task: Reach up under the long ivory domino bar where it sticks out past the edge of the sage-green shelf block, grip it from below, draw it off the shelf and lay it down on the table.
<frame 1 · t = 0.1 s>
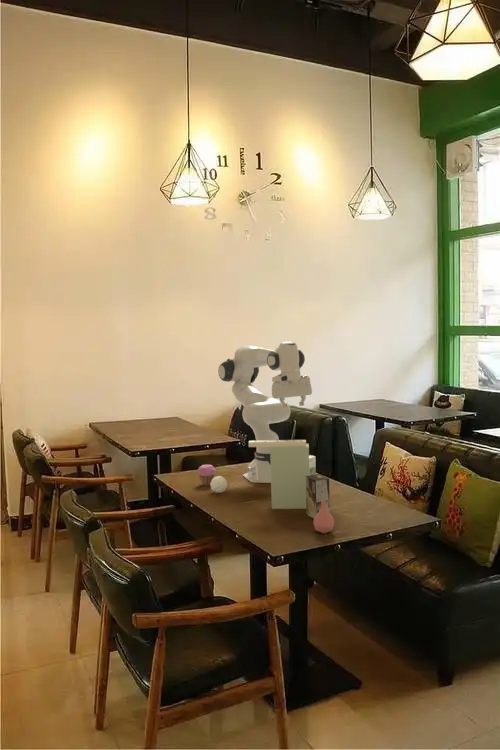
hand: (293, 406, 300), 39 cm above the table, tool pointing down, fingers open, 8 cm apart
syrup box: (307, 486, 308), on the table
geometric ball: (219, 492, 302), on the table
pink vase: (323, 533, 242), on the table
coffee box: (318, 516, 261), on the table
domino bar: (277, 445, 275), point 26 cm above the table, touching shelf block
cupcake: (207, 485, 316), on the table
shelf block: (290, 505, 277), on the table
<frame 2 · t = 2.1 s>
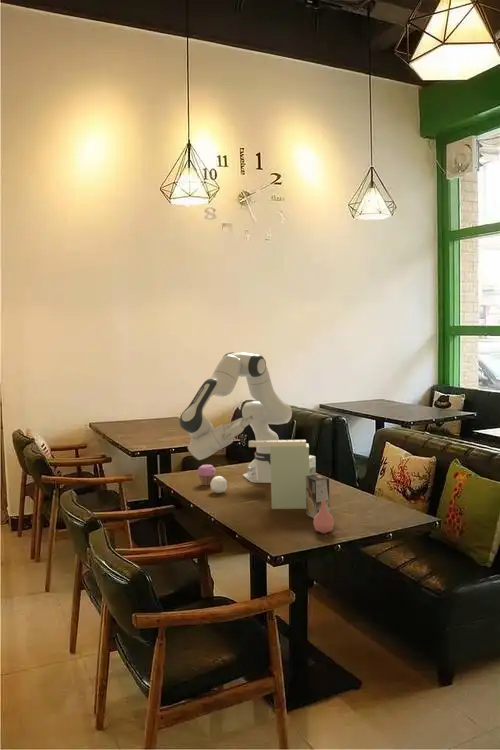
hand: (252, 418, 270), 38 cm above the table, tool pointing upward, fingers open, 8 cm apart
nothing on the table moved.
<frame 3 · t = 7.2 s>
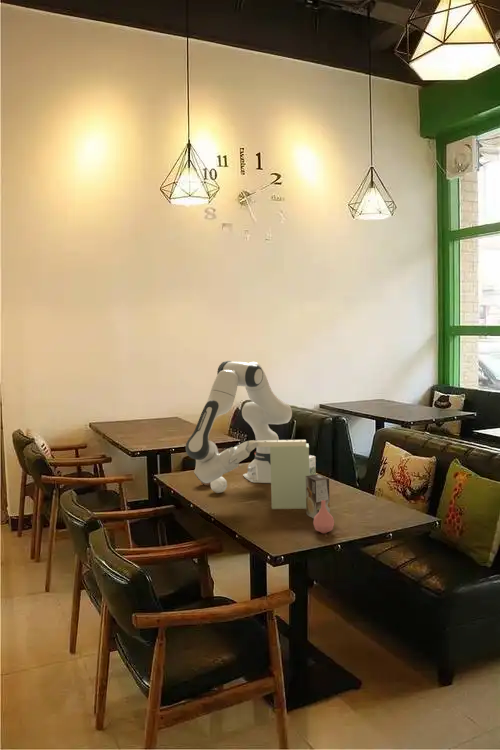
hand: (257, 442, 276), 27 cm above the table, tool pointing upward, fingers closed on domino bar, 4 cm apart
domino bar: (277, 445, 275), point 26 cm above the table, touching gripper, shelf block
everything else where it was.
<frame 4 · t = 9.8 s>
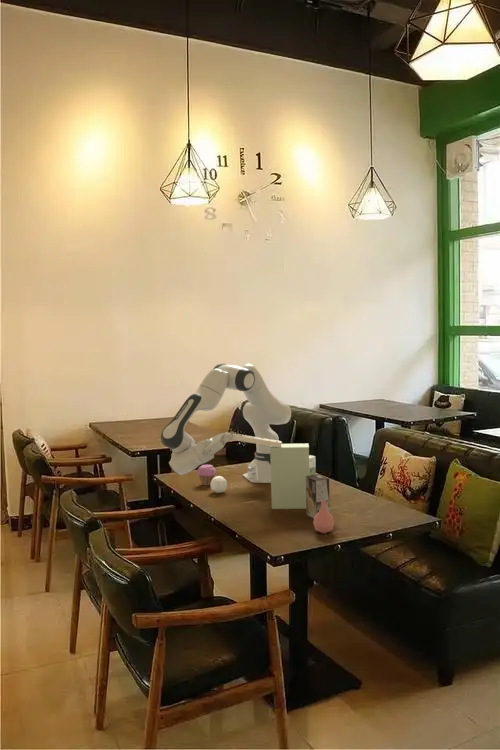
hand: (233, 434, 273), 32 cm above the table, tool pointing upward, fingers closed on domino bar, 4 cm apart
domino bar: (252, 442, 273), point 28 cm above the table, tilted 10°, touching gripper
everything else where it was.
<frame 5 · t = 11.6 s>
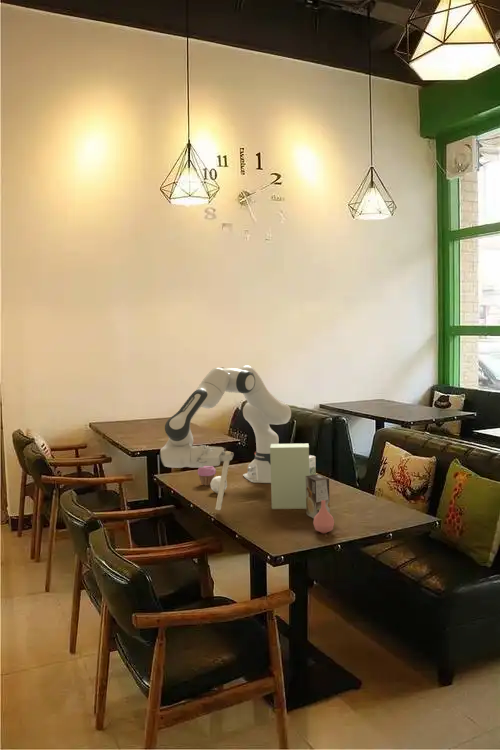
hand: (232, 456, 267), 24 cm above the table, tool horizontal, fingers closed on domino bar, 4 cm apart
domino bar: (220, 480, 268), point 14 cm above the table, tilted 102°, touching gripper
everything else where it was.
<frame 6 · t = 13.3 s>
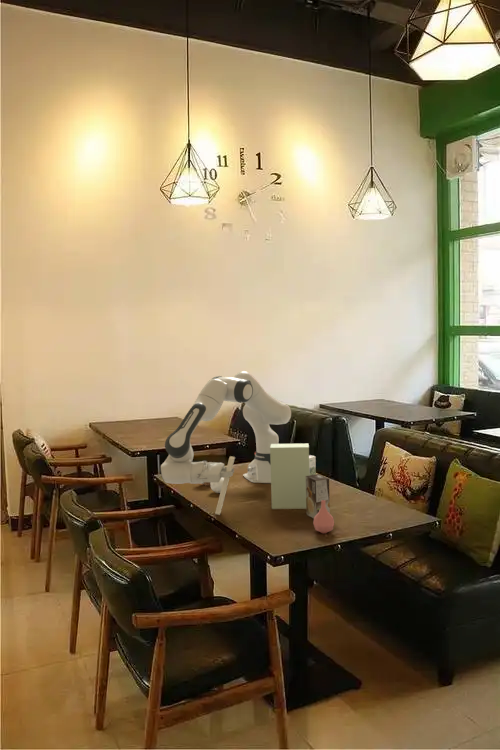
hand: (233, 472, 267), 17 cm above the table, tool horizontal, fingers closed on domino bar, 4 cm apart
domino bar: (222, 484, 268), point 12 cm above the table, tilted 106°, touching gripper
everything else where it was.
when the fingers open (13 cm above the table, at t = 14.7 s): domino bar drops 10 cm and tips over, point 2 cm above the table.
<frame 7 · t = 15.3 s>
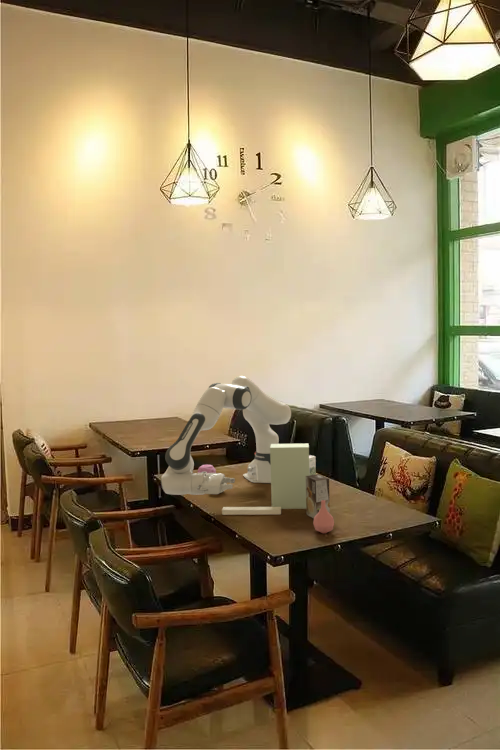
hand: (233, 483, 268), 13 cm above the table, tool horizontal, fingers open, 8 cm apart
domino bar: (251, 508, 268), point 2 cm above the table, tilted 180°
everything else where it was.
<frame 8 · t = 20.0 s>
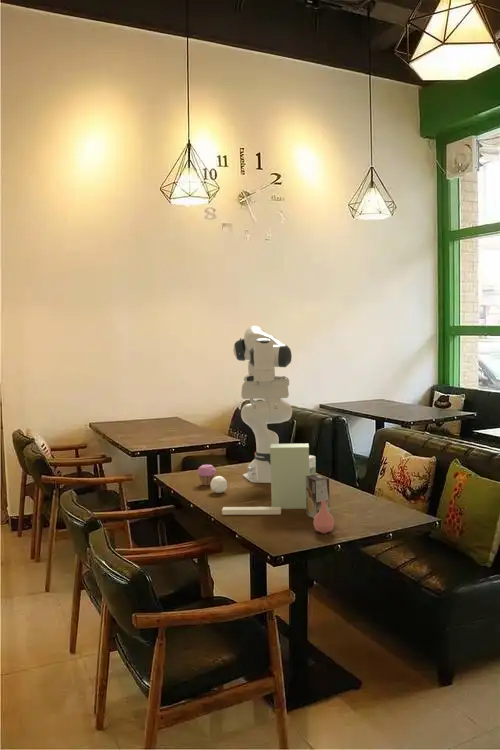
hand: (265, 408, 279), 41 cm above the table, tool pointing down, fingers open, 8 cm apart
nothing on the table moved.
at the end: domino bar point 2.1 cm above the table; domino bar moved 28.2 cm from its start; domino bar touching table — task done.
